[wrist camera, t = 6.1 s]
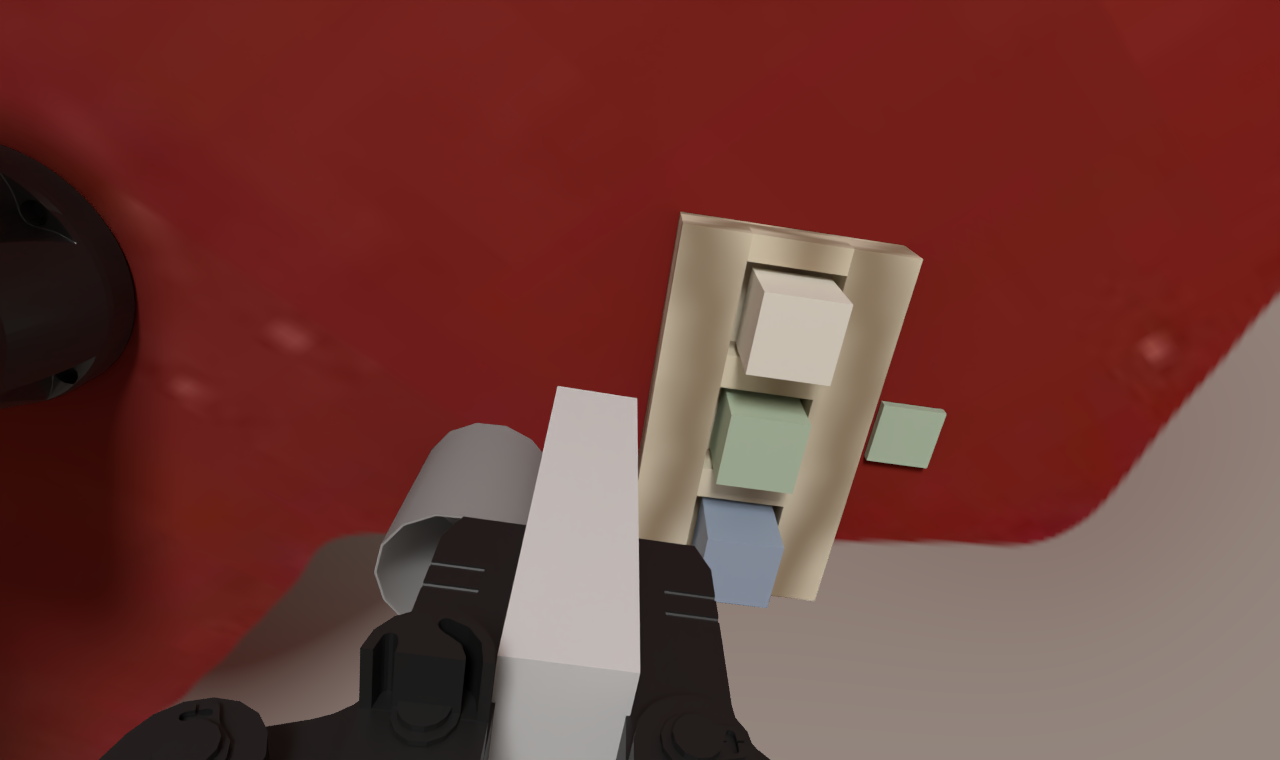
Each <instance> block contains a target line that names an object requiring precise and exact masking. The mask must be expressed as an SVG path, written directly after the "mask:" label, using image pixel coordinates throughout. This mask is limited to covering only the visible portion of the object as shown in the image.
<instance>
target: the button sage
mask: <svg viewBox="0 0 1280 760" xmlns="http://www.w3.org/2000/svg"><path fill="white" fill-rule="evenodd" d="M810 430H811V424H810V422H809V419H808V417H807V415H806V413H805V411H804V408H803V406H802V404H801V402H800V399H799V398H795V397H788V396H781V395H774V394H766V393H759V392H752V391H745V390H737V389H730V388H723V387H722V390H721V395H720V399H719V404H718V409H717V413H716V418H715V422H714V427H713V432H712V436H711V441H710V451H711V457H712V463H713V469H714V475H715V481H716V484H719V485H727V486H735V487H742V488H750V489H758V490H765V491H773V492H781V493H788V494H793V490H794V487H795V483H796V480H797V476H798V472H799V469H800V465H801V462H802V458H803V455H804V451H805V447H806V444H807V440H808V437H809V433H810Z"/></svg>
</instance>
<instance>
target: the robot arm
mask: <svg viewBox="0 0 1280 760" xmlns="http://www.w3.org/2000/svg"><path fill="white" fill-rule="evenodd" d="M134 315H135V298H134V289H133V284H132V279H131V276H130V272H129V269H128V266H127V263H126V260H125V258H124V256H123V253H122V251H121V249H120V247H119V245H118V243H117V241H116V240H115V238H114V236H113V234H112V233H111V231H110V230H109V228H108V227H107V225H106V224H105V222H104V221H103V220H102V218H101V217H100V216H99V214H98V213H97V212H96V211H95V210H94V208H93V207H92V206H91V205H90V204H89V203H88V202H87V201H86V200H85V198H84V197H83V196H82V195H80V194H79V193H78V192H77V191H76V190H75V189H74V188H73V187H72V186H71V185H70V184H68V183H67V182H66V181H65V180H63V179H62V178H61V177H60V176H58V175H57V174H56V173H54V172H53V171H51V170H50V169H48V168H47V167H45V166H44V165H42V164H41V163H39V162H37V161H36V160H34V159H32V158H30V157H28V156H26V155H24V154H22V153H20V152H18V151H16V150H13V149H11V148H8V147H6V146H3V145H0V409H2V408H8V407H14V406H20V405H25V404H31V403H37V402H42V401H46V400H50V399H53V398H56V397H59V396H62V395H64V394H67V393H69V392H71V391H73V390H75V389H76V388H78V387H80V386H81V385H83V384H85V383H87V382H88V381H90V380H92V379H93V378H95V377H97V376H99V375H100V374H102V373H103V372H104V371H106V370H107V369H108V368H109V367H110V366H111V365H112V364H113V363H114V362H115V361H116V360H117V359H118V357H119V356H120V355H121V353H122V352H123V350H124V348H125V347H126V345H127V342H128V340H129V338H130V335H131V332H132V328H133V323H134ZM359 696H360V697H359V701H358V702H357V703H355V704H354V705H352V706H350V707H347V708H345V709H343V710H341V711H339V712H336V713H334V714H331V715H327V716H323V717H319V718H315V719H311V720H305V721H299V722H292V723H286V724H281V725H274V726H268V727H265V725H264V723H263V721H262V719H261V717H260V715H259V713H257V712H256V711H254V710H253V709H251V708H250V707H248V706H246V705H245V704H243V703H242V702H240V701H234V700H227V699H220V698H207V699H201V700H194V701H187V702H183V703H180V704H178V705H175V706H173V707H170V708H168V709H166V710H163V711H161V712H158V713H156V714H153V715H152V716H151V717H149V718H148V719H147V720H145V721H144V722H142V723H141V724H140V725H138V726H137V727H135V728H134V729H133V730H131V731H130V732H128V733H127V734H126V735H125V736H124V737H123V738H122V739H121V740H119V741H118V742H117V743H116V744H115V745H114V746H113V747H112V748H111V749H110V750H109V751H108V752H107V753H106V754H105V755H103V756H102V757H101V758H100V759H99V760H770V759H769V758H767V757H766V756H765V755H764V754H762V753H761V752H760V751H758V750H757V749H756V748H755V747H754V745H753V744H752V743H751V740H750V738H749V735H748V732H747V731H746V730H745V729H744V727H743V726H742V725H741V724H740V723H739V722H738V721H737V719H736V718H735V715H734V712H733V708H732V705H731V698H730V691H729V686H728V678H727V671H726V665H725V659H724V652H723V645H722V638H721V632H720V626H719V623H718V612H717V605H716V601H715V592H714V585H713V578H712V572H711V569H710V568H709V566H708V565H707V563H706V562H705V560H704V559H703V557H702V556H701V555H700V553H699V552H698V550H697V549H696V547H695V546H690V545H683V544H676V543H669V542H662V541H654V540H647V539H640V538H639V523H638V438H637V398H632V397H625V396H619V395H612V394H606V393H599V392H593V391H586V390H580V389H573V388H567V387H560V386H558V387H557V391H556V396H555V400H554V405H553V409H552V414H551V418H550V423H549V427H548V432H547V436H546V440H545V445H544V449H543V454H542V458H541V463H540V467H539V472H538V476H537V481H536V485H535V490H534V494H533V499H532V503H531V507H530V512H529V516H528V521H527V525H522V524H515V523H508V522H501V521H493V520H486V519H479V518H472V517H465V516H464V517H462V518H461V519H460V520H459V521H458V522H457V523H455V524H454V525H453V526H452V527H451V528H450V529H449V530H447V531H446V532H445V533H444V534H443V535H442V536H441V538H440V540H439V543H438V545H437V548H436V551H435V553H434V556H433V558H432V561H431V566H429V568H428V571H427V573H426V576H425V578H424V581H423V586H422V587H421V589H420V591H419V594H418V596H417V599H416V601H415V604H414V606H413V609H412V611H411V612H408V613H404V614H401V615H397V616H394V617H393V618H391V619H390V620H388V621H387V622H385V623H383V624H382V625H380V626H379V627H377V628H376V629H374V630H373V632H372V633H371V634H370V636H369V637H368V638H367V640H366V641H365V642H364V644H363V645H362V647H361V648H360V693H359Z"/></svg>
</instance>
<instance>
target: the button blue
mask: <svg viewBox="0 0 1280 760" xmlns="http://www.w3.org/2000/svg"><path fill="white" fill-rule="evenodd" d="M691 546H695V547H696V549H697V550H698V552H699V553H700V555H701V556H702V557H703V559H704V560H705V562H706V563H707V565H708V566H709V568H710V569H711V572H712V578H713V585H714V592H715V601H716V602H720V603H729V604H737V605H746V606H754V607H762V608H767V607H768V603H769V600H770V596H771V593H772V589H773V586H774V582H775V579H776V575H777V572H778V568H779V565H780V561H781V558H782V554H783V551H784V546H783V543H782V539H781V535H780V532H779V528H778V525H777V521H776V518H775V514H774V511H773V507H772V505H765V504H758V503H750V502H742V501H734V500H727V499H719V498H711V497H703V496H702V499H701V503H700V508H699V512H698V517H697V521H696V526H695V531H694V535H693V540H692V544H691Z"/></svg>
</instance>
